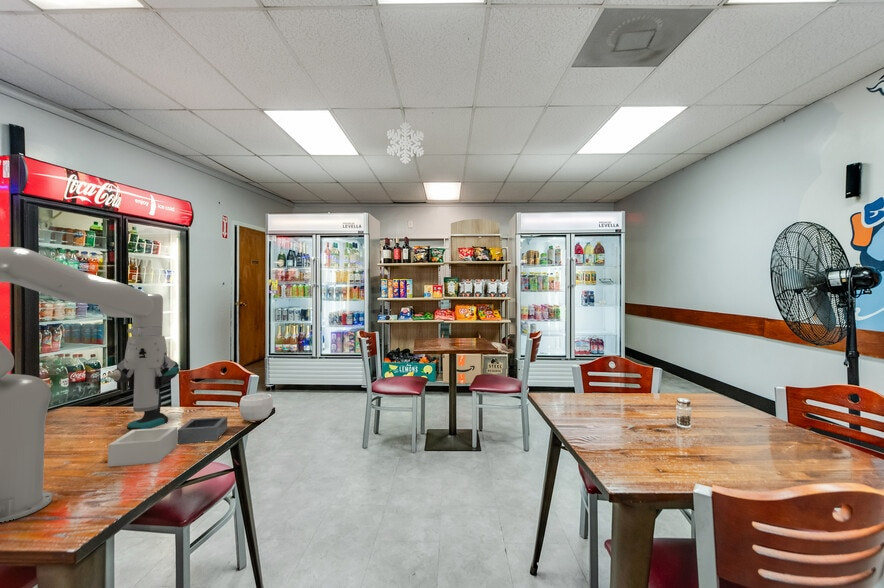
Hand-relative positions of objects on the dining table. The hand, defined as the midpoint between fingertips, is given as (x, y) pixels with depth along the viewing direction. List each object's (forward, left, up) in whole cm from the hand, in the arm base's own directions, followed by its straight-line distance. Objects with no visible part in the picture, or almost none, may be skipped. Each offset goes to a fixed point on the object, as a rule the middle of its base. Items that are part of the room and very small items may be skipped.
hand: (146, 388), depth 119 cm
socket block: (+14, -12, -21) cm, 28 cm away
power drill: (+30, +14, -22) cm, 40 cm away
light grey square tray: (0, 0, -21) cm, 21 cm away
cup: (+30, -26, -22) cm, 45 cm away
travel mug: (0, 0, -7) cm, 7 cm away
